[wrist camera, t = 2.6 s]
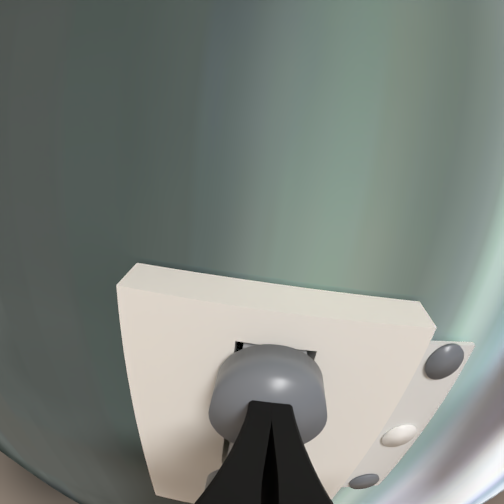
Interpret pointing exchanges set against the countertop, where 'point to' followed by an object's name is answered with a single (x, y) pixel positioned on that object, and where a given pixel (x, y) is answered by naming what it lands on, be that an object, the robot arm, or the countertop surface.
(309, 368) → the button
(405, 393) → the card
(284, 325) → the board
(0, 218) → the countertop surface
